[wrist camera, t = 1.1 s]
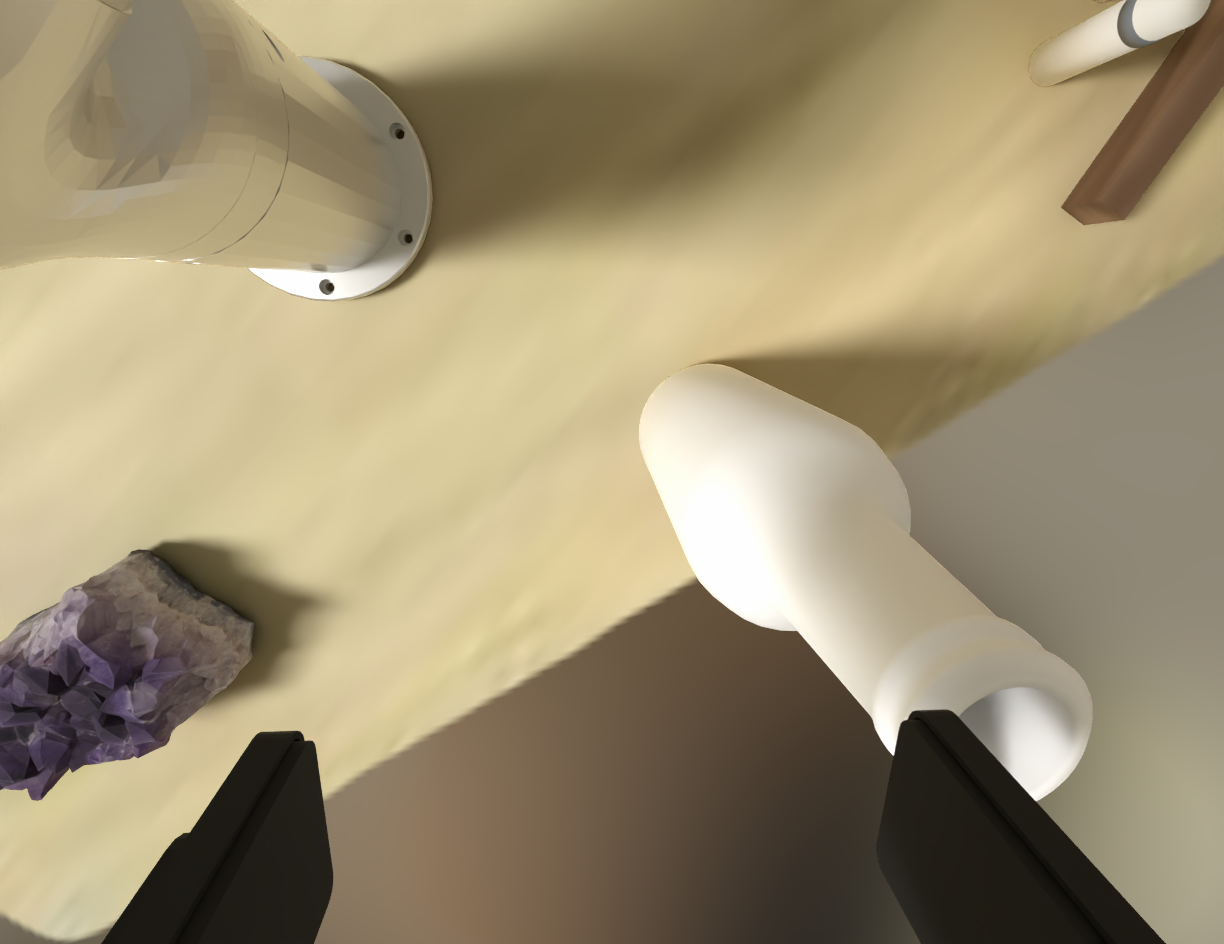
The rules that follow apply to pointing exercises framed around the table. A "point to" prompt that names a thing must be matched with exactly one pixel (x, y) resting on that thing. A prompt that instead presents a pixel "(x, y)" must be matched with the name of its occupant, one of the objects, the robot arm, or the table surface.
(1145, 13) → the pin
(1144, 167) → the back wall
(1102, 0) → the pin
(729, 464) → the alcohol
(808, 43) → the table surface
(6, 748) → the geode
